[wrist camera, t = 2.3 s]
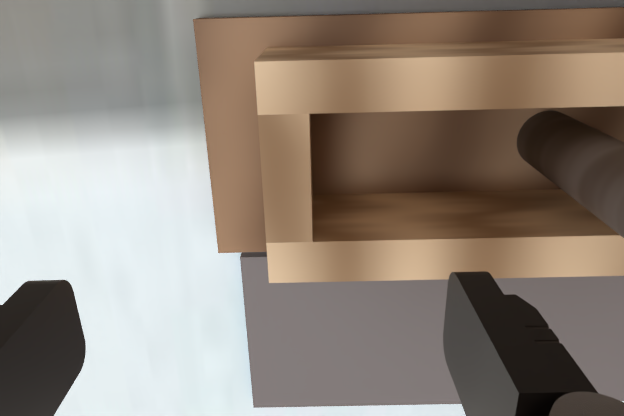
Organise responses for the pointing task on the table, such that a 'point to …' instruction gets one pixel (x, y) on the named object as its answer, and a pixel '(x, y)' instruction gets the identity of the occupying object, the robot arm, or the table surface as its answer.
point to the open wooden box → (430, 205)
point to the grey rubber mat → (404, 336)
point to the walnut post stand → (407, 119)
